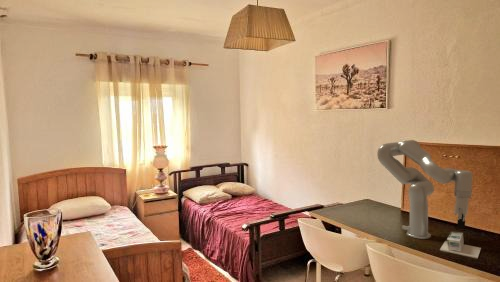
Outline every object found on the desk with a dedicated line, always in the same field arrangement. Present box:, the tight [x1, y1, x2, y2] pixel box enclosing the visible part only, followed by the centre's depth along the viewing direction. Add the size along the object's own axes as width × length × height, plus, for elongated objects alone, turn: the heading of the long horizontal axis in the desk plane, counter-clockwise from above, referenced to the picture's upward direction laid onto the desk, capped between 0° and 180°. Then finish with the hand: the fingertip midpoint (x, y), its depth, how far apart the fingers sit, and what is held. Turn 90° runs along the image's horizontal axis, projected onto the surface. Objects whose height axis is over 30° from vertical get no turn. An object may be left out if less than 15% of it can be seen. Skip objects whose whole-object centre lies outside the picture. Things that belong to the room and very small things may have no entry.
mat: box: [439, 240, 482, 259], centre depth 165 cm, size 16×15×1 cm
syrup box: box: [446, 231, 465, 252], centre depth 167 cm, size 6×6×14 cm
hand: (461, 227), depth 169 cm, fingers closed
